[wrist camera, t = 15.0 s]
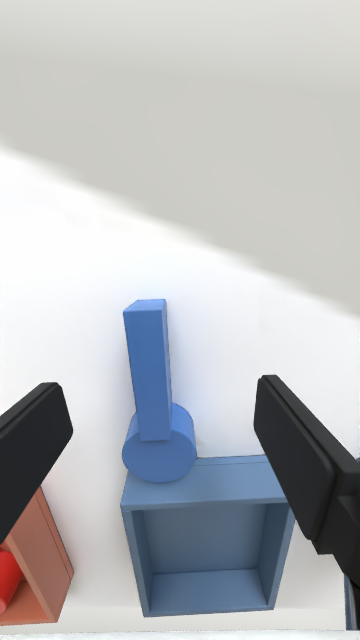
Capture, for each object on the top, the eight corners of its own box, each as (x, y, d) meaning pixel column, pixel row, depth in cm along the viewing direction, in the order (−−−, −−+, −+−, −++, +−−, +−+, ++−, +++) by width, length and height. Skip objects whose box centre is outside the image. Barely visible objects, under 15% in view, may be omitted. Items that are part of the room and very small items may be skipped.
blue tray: (130, 461, 13) (119, 505, 10) (278, 454, 13) (301, 495, 10) (148, 568, 17) (143, 617, 15) (260, 562, 17) (273, 610, 15)
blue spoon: (193, 448, 13) (198, 492, 10) (134, 451, 13) (123, 497, 10) (190, 297, 9) (196, 307, 7) (111, 301, 9) (87, 312, 7)
